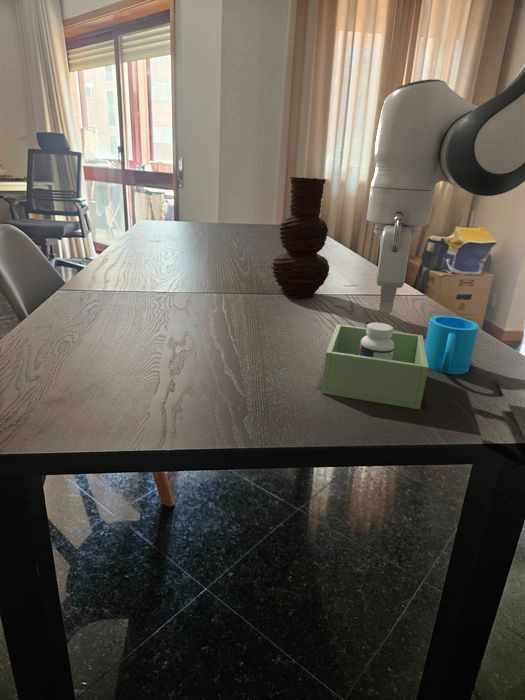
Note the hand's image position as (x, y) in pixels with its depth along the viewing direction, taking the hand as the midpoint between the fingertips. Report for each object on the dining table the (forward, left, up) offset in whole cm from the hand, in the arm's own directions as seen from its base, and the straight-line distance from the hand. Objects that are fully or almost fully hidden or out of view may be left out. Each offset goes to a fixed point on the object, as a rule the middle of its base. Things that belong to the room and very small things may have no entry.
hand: (385, 303), depth 72 cm
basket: (0, 0, -13) cm, 13 cm away
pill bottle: (0, 0, -13) cm, 13 cm away
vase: (+22, -50, -14) cm, 57 cm away
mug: (-12, -11, -14) cm, 21 cm away
